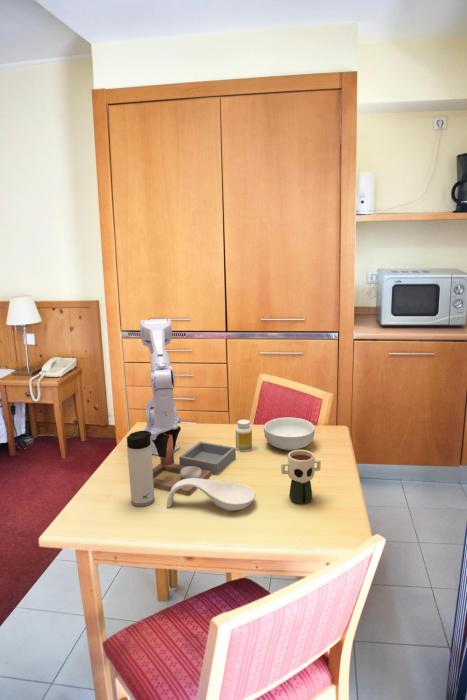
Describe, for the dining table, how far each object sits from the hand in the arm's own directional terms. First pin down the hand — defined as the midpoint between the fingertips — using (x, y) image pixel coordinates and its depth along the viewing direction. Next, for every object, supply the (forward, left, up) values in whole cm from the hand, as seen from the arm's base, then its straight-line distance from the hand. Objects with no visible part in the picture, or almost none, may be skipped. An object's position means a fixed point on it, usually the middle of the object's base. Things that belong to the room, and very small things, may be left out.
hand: (166, 453), depth 158 cm
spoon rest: (+19, -8, -8) cm, 22 cm away
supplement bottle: (+12, +28, -8) cm, 32 cm away
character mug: (+40, +4, -8) cm, 41 cm away
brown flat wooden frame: (+3, 0, -8) cm, 8 cm away
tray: (+6, +14, -8) cm, 17 cm away
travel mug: (+1, -14, -8) cm, 16 cm away
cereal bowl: (+25, +36, -8) cm, 45 cm away
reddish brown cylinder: (0, 0, -3) cm, 3 cm away
